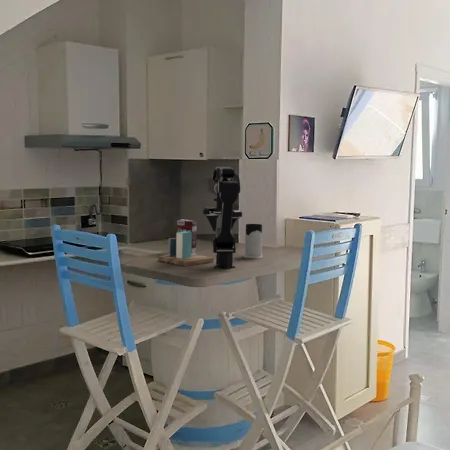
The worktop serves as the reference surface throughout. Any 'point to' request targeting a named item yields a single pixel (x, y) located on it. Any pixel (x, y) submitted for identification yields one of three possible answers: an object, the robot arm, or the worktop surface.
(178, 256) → the teal rectangular block
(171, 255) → the grey metal bookend
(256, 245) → the glass holder
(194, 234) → the supplement box
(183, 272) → the worktop surface
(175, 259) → the wooden board
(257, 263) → the worktop surface
